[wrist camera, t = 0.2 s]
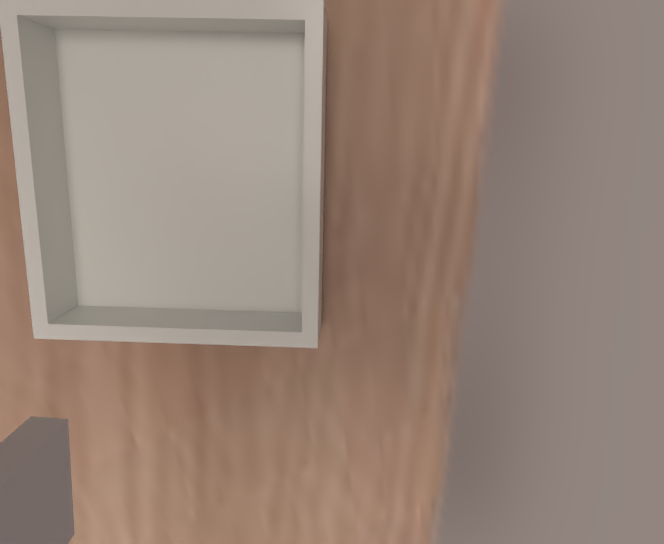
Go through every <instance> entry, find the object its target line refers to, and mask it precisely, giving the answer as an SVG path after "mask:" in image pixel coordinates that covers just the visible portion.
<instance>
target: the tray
mask: <svg viewBox="0 0 664 544" xmlns="http://www.w3.org/2000/svg"><path fill="white" fill-rule="evenodd" d="M327 25H328V19H327V14H326V9H325V4H324V0H0V28H1V37H2V47H3V56H4V65H5V75H6V84H7V93H8V102H9V112H10V121H11V130H12V140H13V149H14V158H15V168H16V177H17V186H18V195H19V205H20V214H21V223H22V233H23V242H24V251H25V260H26V270H27V279H28V288H29V298H30V307H31V316H32V326H33V335H34V339H63V340H92V341H122V342H151V343H181V344H210V345H240V346H269V347H299V348H318V343H319V337H320V331H321V325H322V288H323V235H324V183H325V130H326V77H327Z"/></svg>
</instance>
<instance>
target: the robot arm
mask: <svg viewBox="0 0 664 544" xmlns="http://www.w3.org/2000/svg"><path fill="white" fill-rule="evenodd" d="M73 535H74V517H73V500H72V482H71V465H70V447H69V429H68V419H59V418H46V417H32V416H31V417H30V418H29V419H28V420H27V421H25V422H24V423H23V424H22V425H21V426H20V427H19V428H17V429H16V430H15V431H14V432H13V433H12V434H10V435H9V436H8V437H7V438H6V439H5V440H4V441H2V442H1V443H0V544H68V543H69V541H70V540H71V538H72V537H73Z"/></svg>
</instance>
